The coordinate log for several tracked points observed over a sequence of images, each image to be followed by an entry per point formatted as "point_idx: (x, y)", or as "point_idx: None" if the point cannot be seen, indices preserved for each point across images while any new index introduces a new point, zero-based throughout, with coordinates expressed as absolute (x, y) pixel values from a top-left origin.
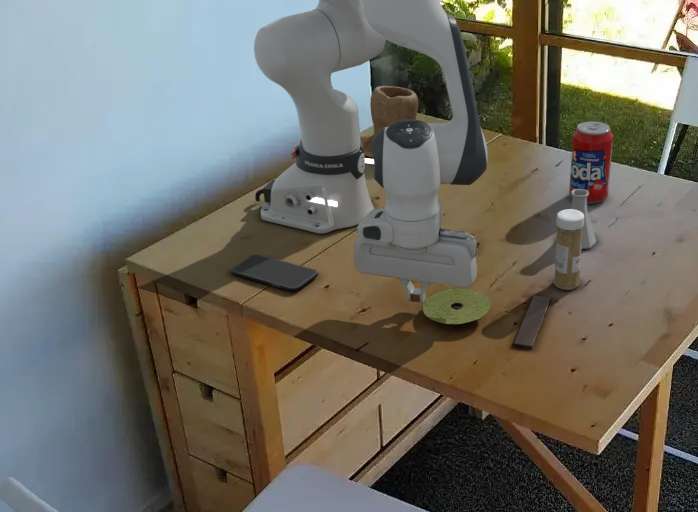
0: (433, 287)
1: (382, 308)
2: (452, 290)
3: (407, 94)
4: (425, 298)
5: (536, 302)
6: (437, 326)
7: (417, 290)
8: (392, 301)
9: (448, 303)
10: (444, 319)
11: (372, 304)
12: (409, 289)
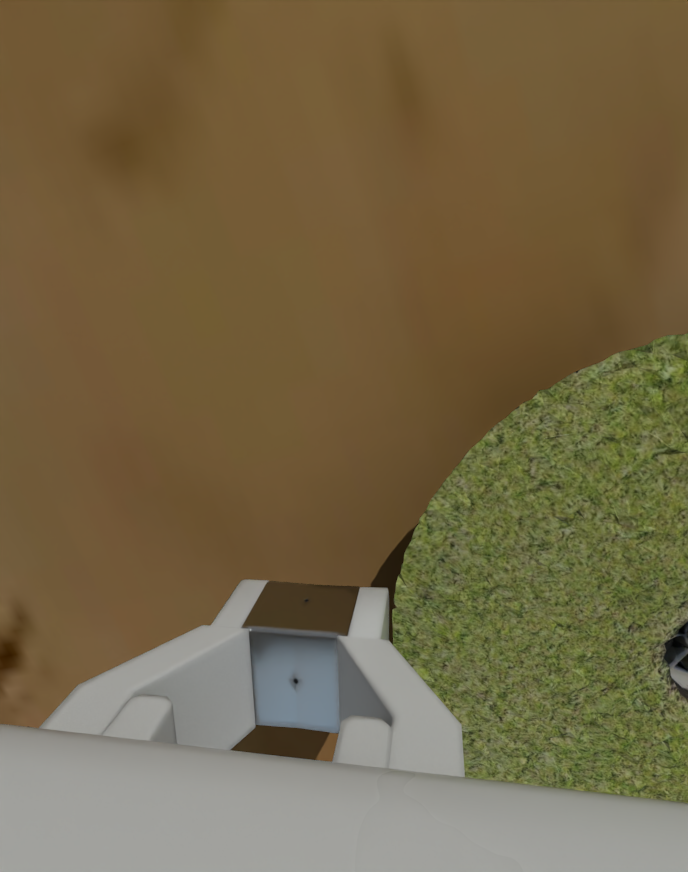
0: (350, 206)
1: (100, 613)
2: (624, 387)
3: None
4: (388, 604)
5: None
6: None
7: (299, 668)
8: (120, 515)
9: (631, 629)
10: None
11: (17, 579)
12: (225, 739)
